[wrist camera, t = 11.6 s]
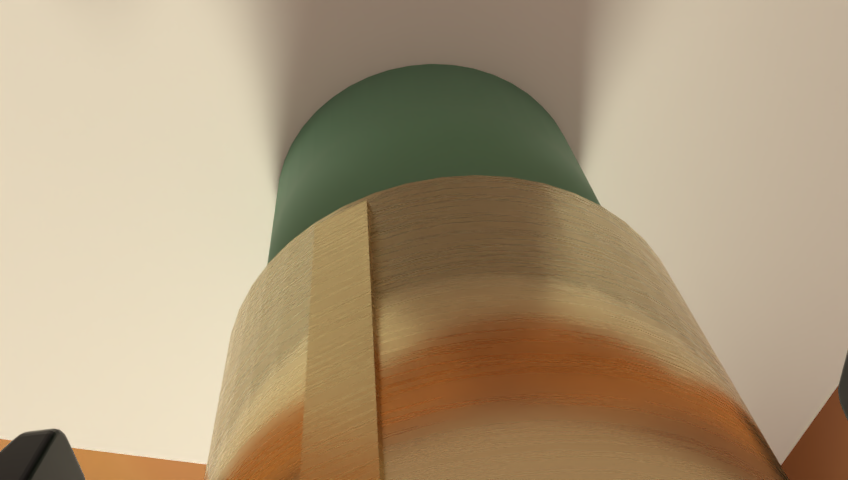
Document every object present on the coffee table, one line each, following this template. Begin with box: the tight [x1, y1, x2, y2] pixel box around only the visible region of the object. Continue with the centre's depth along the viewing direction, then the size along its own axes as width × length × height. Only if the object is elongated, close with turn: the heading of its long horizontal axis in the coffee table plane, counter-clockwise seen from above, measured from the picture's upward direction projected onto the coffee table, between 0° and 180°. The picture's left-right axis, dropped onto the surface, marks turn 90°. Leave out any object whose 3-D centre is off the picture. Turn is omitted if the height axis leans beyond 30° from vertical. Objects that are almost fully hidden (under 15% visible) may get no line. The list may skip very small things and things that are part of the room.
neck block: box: [0, 0, 848, 465], centre depth 12 cm, size 18×13×5 cm
